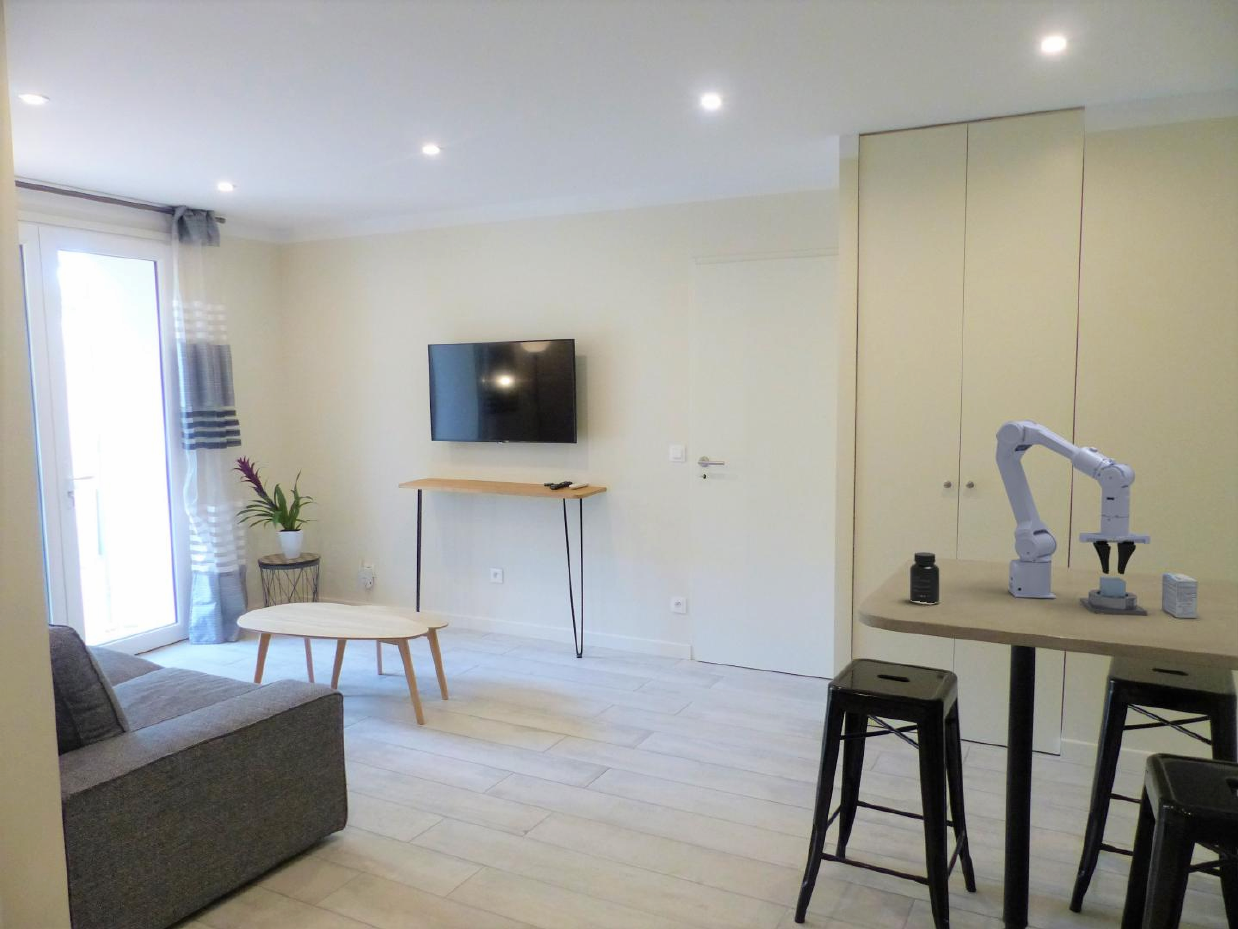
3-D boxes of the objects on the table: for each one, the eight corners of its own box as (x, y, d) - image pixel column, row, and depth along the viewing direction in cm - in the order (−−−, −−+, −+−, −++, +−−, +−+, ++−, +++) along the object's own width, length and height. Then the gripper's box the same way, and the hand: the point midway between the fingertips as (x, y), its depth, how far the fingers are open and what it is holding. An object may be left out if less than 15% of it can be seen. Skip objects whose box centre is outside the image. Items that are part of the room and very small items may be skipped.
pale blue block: (1103, 606, 203) (1104, 581, 202) (1096, 601, 208) (1097, 576, 207) (1127, 607, 202) (1128, 581, 201) (1119, 602, 207) (1120, 577, 206)
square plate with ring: (1094, 613, 200) (1094, 598, 200) (1079, 602, 211) (1079, 587, 211) (1146, 615, 198) (1147, 600, 198) (1129, 603, 209) (1129, 589, 209)
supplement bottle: (913, 597, 218) (913, 550, 217) (941, 600, 215) (942, 552, 214) (906, 603, 212) (907, 555, 211) (936, 606, 209) (936, 557, 208)
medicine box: (1197, 619, 195) (1198, 580, 194) (1175, 618, 196) (1176, 580, 195) (1182, 610, 202) (1183, 573, 202) (1160, 609, 203) (1162, 573, 203)
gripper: (1086, 517, 200) (1084, 575, 202) (1156, 518, 197) (1154, 577, 199) (1077, 513, 207) (1075, 569, 208) (1144, 514, 204) (1142, 571, 205)
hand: (1113, 573), depth 204 cm, fingers open, 3 cm apart
